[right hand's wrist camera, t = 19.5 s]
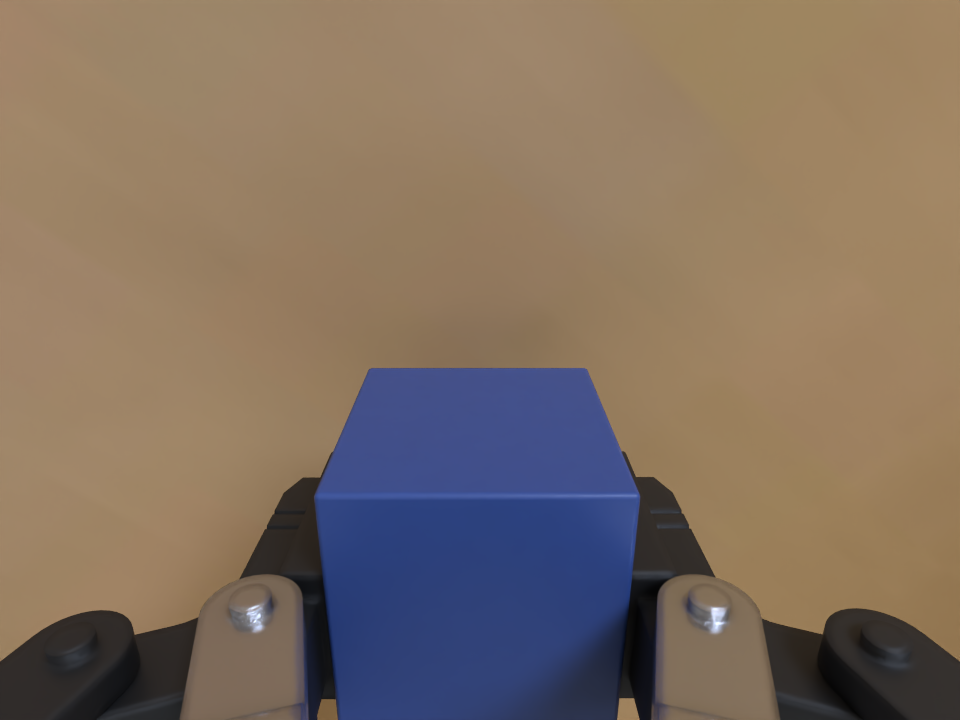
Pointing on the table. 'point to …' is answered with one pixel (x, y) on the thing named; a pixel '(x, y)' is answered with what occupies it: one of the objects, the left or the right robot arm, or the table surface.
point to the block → (477, 547)
